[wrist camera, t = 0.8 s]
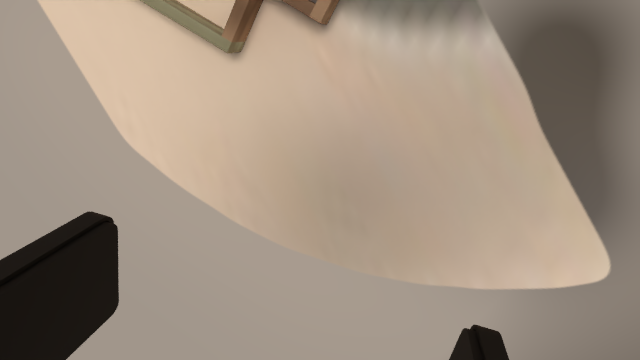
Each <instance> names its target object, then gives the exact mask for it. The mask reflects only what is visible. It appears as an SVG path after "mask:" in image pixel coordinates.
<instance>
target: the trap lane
mask: <svg viewBox="0 0 640 360" xmlns="http://www.w3.org/2000/svg"><path fill="white" fill-rule="evenodd" d="M140 1H142V2H144V3H145V4H147V5H149V6H150V7H152V8H154V9H155V10H157V11H159V12H160V13H162V14H164V15H165V16H167V17H168V18H170V19H172V20H173V21H175V22H177V23H178V24H180V25H182V26H183V27H185V28H187V29H188V30H190V31H192V32H193V33H195V34H197V35H198V36H200V37H202V38H203V39H205V40H206V41H208V42H210V43H211V44H213V45H215V46H216V47H218V48H220V49H221V50H223V51H225V52H226V53H233V52H241V50H242V47H243V45H244V43H245V40H246V38H247V36H248V33H249V31H250V29H251V26H252V24H253V22H254V19H255V17H256V15H257V13H258V10H259V8H260V6H261V3H262V1H263V0H236V1H235V4H234V6H233V9H232V11H231V14H230V16H229V19H228V21H227V24H226V26H225V29H223V28H221V27H219V26H218V25H216V24H214V23H213V22H211V21H209V20H208V19H206V18H204V17H203V16H201V15H200V14H198V13H196V12H195V11H193V10H191V9H190V8H188V7H186V6H185V5H183V4H181V3H180V2H178V1H176V0H140ZM282 1H284V2H286V3H287V4H289V5H291V6H292V7H294V8H296V9H297V10H299V11H301V12H302V13H304V14H306V15H307V16H309V17H310V18H312V19H314V20H315V21H317V22H319V23H321V24H326V25H327V23H328V21H329V19H330V17H331V15H332V13H333V11H334V9H335V7H336V5H337V3H338V1H339V0H282Z"/></svg>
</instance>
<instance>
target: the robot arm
mask: <svg viewBox="0 0 640 360" xmlns="http://www.w3.org/2000/svg"><path fill="white" fill-rule="evenodd" d="M118 302H119V293H118V230H117V226H116V225H115V224H114V221H113V219H112V218H111V217H108V216H105V215H101V214H98V213H94V212H86V213H84V214H82V215H80V216H79V217H77V218H75V219H73V220H71V221H70V222H68V223H66V224H64V225H63V226H61V227H59V228H57V229H55V230H54V231H52V232H50V233H48V234H46V235H45V236H43V237H41V238H39V239H38V240H36V241H34V242H32V243H30V244H28V245H27V246H25V247H23V248H21V249H19V250H18V251H16V252H14V253H12V254H10V255H9V256H7V257H5V258H3V259H1V260H0V360H66V359H67V358H68V357H69V356H70V355H71V354H72V353H73V352H74V351H75V350H76V349H77V348H78V347H79V346H80V345H81V344H83V342H85V341H86V340H87V339H88V338H89V337H90V336H91V335H92V334H93V333H94V332H95V331H96V330H97V329H98V328H99V327H100V326H101V325H102V324H103V323H104V322H106V320H108V319H109V318H110V317H111V316H112V315H113V313H114V312H115V310H116V308H117V306H118ZM449 360H509V358H508V355H507V352H506V349H505V346H504V343H503V340H502V337H501V334H500V333H499V332H498V331H495V330H491V329H488V328H485V327H481V326H478V325H473V326H472V327H471V329H466V328H464V329H463V330H462V332H461V334H460V336H459V339H458V341H457V343H456V345H455V348H454V350H453V352H452V354H451V357H450V359H449Z"/></svg>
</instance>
